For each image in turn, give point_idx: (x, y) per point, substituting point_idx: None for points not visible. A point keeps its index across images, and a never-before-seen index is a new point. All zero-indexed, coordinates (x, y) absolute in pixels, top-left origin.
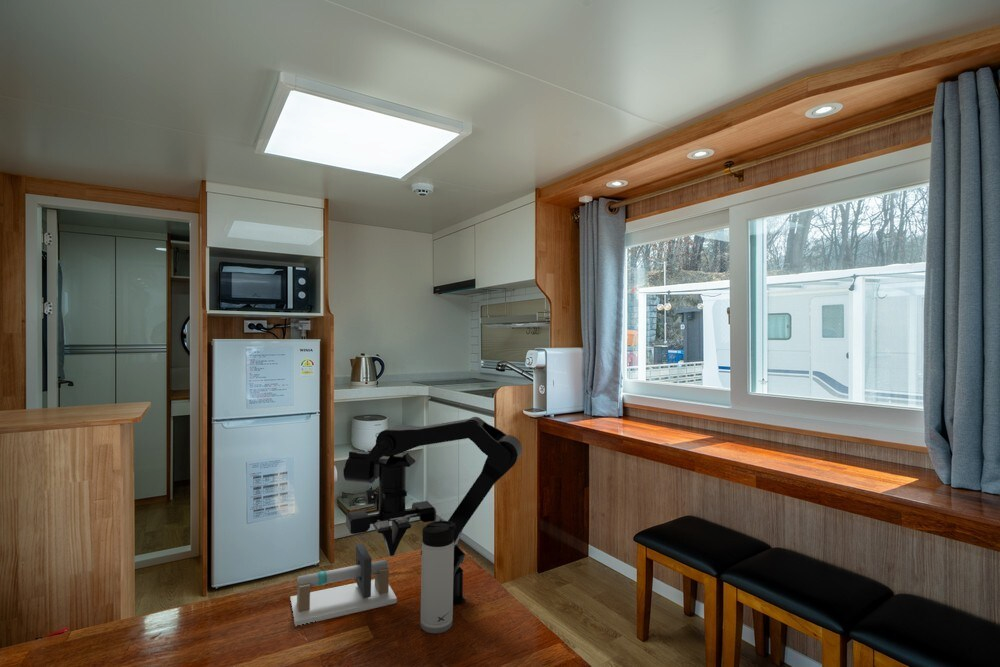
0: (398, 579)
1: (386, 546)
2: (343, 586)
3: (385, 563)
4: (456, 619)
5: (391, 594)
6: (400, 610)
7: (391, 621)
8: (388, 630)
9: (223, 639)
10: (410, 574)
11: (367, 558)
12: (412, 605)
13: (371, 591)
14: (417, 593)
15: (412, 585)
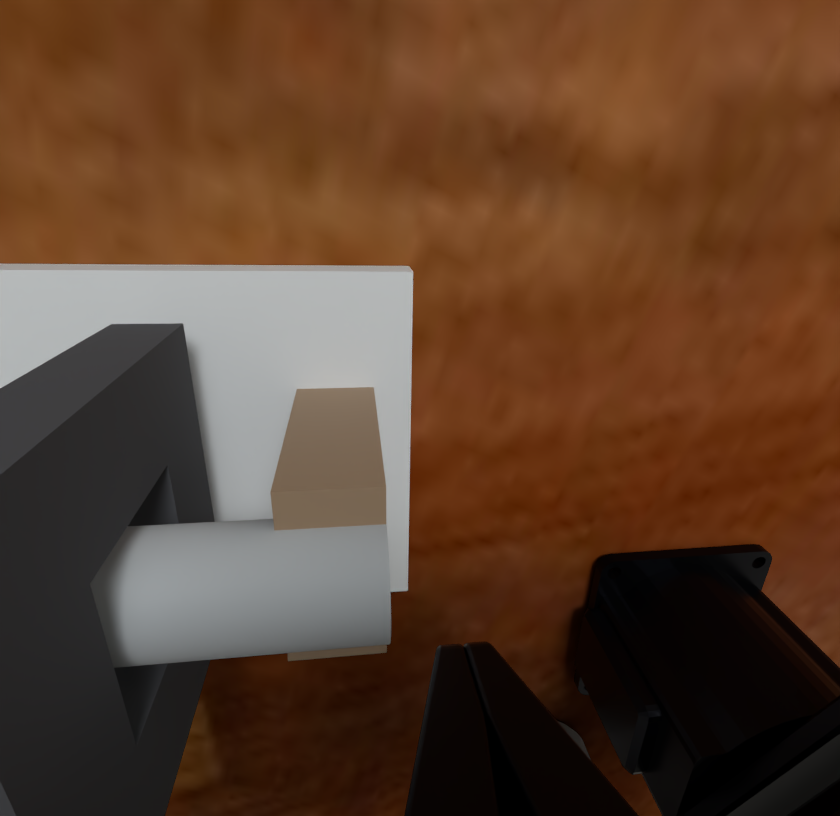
0: (521, 280)
1: (415, 763)
2: (8, 290)
3: (366, 644)
4: (607, 750)
5: (388, 540)
6: (401, 635)
7: (329, 701)
8: (299, 752)
9: None
10: (638, 239)
11: None
12: (478, 613)
13: (257, 460)
14: (557, 513)
15: (574, 410)
